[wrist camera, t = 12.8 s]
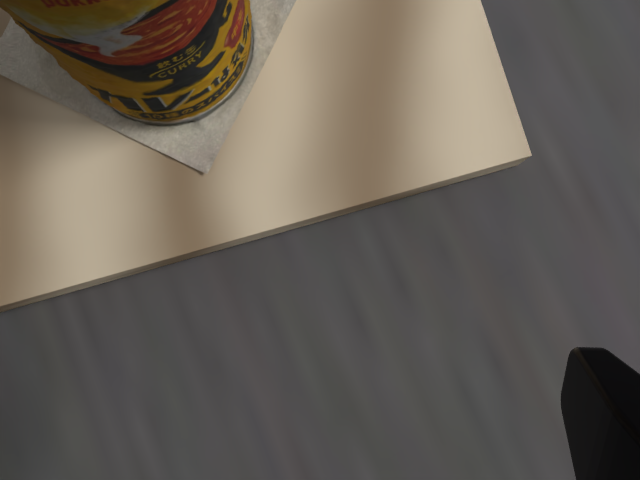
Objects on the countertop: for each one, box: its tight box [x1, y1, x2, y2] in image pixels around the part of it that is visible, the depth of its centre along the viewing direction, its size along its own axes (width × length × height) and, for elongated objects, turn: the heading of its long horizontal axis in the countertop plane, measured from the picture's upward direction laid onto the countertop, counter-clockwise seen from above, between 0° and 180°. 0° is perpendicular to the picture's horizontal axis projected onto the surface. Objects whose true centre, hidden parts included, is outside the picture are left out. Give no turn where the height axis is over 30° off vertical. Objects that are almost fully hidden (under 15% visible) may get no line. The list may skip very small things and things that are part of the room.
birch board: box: [0, 0, 532, 312], centre depth 21 cm, size 22×16×2 cm
